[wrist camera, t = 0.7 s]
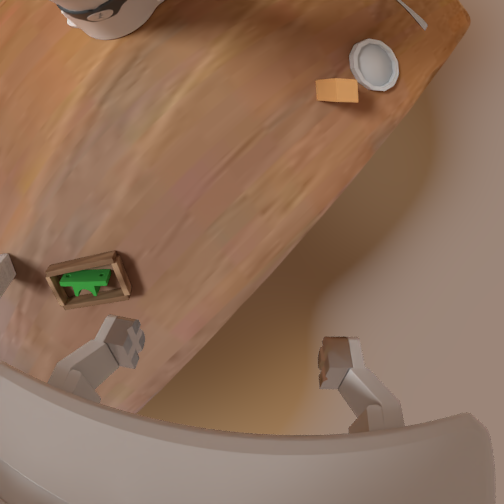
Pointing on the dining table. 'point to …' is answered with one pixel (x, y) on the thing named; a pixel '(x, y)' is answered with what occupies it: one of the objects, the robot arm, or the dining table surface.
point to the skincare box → (5, 272)
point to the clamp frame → (90, 299)
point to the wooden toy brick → (337, 90)
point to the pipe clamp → (86, 280)
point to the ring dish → (374, 65)
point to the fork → (415, 16)
